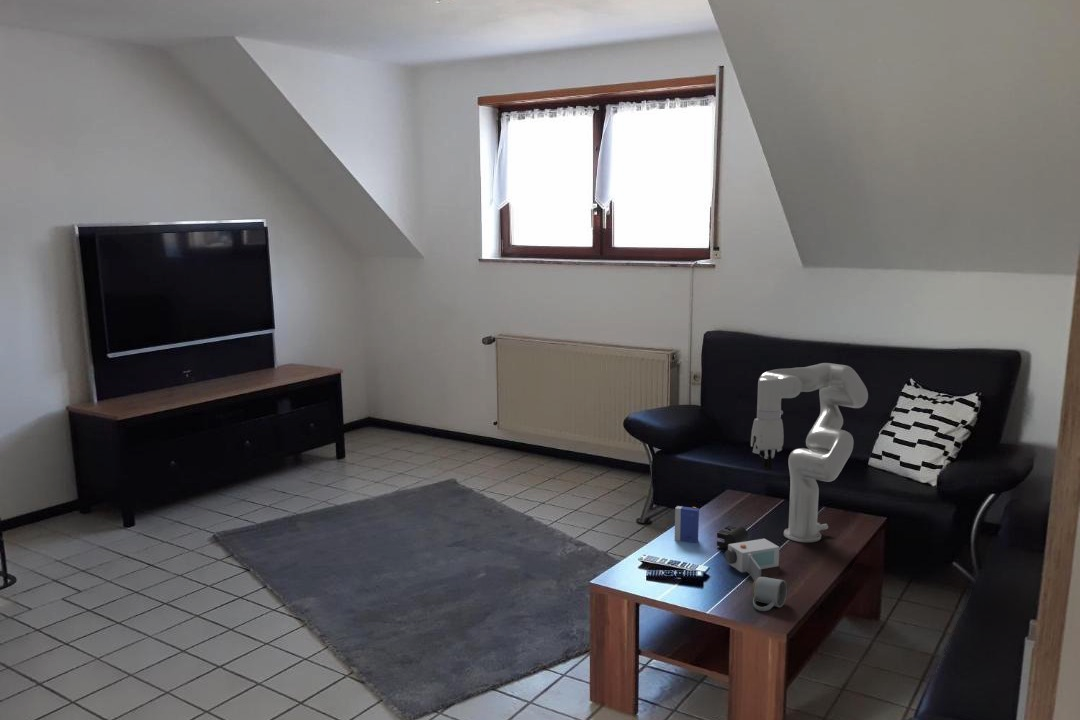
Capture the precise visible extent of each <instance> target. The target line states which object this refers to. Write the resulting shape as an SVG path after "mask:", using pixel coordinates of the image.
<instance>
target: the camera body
mask: <svg viewBox="0 0 1080 720" xmlns="http://www.w3.org/2000/svg"><path fill="white" fill-rule="evenodd" d="M748 554H752V557H753V559H754V560H755V561H756V563H757V564H758V565H759V567H760V568H761V570H764V569H769V568H770V569H771V568H777V567H779V563H780V546H778V545H777V544H775V543H773V542H772V541H770V540H768V539H766V538H758V539H753V540H748V541H747V540H746V541H745V542H739V543H733V544H728V550H727V551H726V552H724V556H725V561H726V563H727V564H728V565H729V566H731V567H733V568H734V569H735V570H736V571H738V572H740V573H747V567H748Z"/></svg>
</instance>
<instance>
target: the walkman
mask: <svg viewBox="0 0 1080 720" xmlns="http://www.w3.org/2000/svg"><path fill="white" fill-rule="evenodd" d="M699 518H700V508H699V507H698V508H697V507H696V506H692V507H689V506H683V505H681V506H680V505H676V507H675V509H674V541H678V542H684V543H685V542H686V543H694V544H697V543H698V542H699V530H700V529H699V525H700V524H699V521H700V519H699Z"/></svg>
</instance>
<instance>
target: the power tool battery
mask: <svg viewBox="0 0 1080 720" xmlns="http://www.w3.org/2000/svg"><path fill="white" fill-rule="evenodd" d="M724 529H725V530H722V529H721V530H719V531H717V533H716V538H717V539H721V540H724V542H723V541H720V540H717V541H716V546H717V551H721V552H724V553H725V552H726V551H727V550H728V544H733V543H739V542H746V541H747V540H748V539H749V538H748V537H749V534H748V531H747V529H746V528H745V527H744V526H743V525H739V526H737V527H736V526H732V525H726V526H725V527H724Z"/></svg>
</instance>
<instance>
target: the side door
mask: <svg viewBox="0 0 1080 720" xmlns="http://www.w3.org/2000/svg"><path fill="white" fill-rule="evenodd" d="M746 573H747V574H748V575H750V577H751V578H752V580H753V582H754V581H755V579H756V578H758V577H762V569H761V568H760V567H759V565H758V564H757V563H756V561H755V560H754V559H753V557H752V554H748V567H747V572H746Z"/></svg>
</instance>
